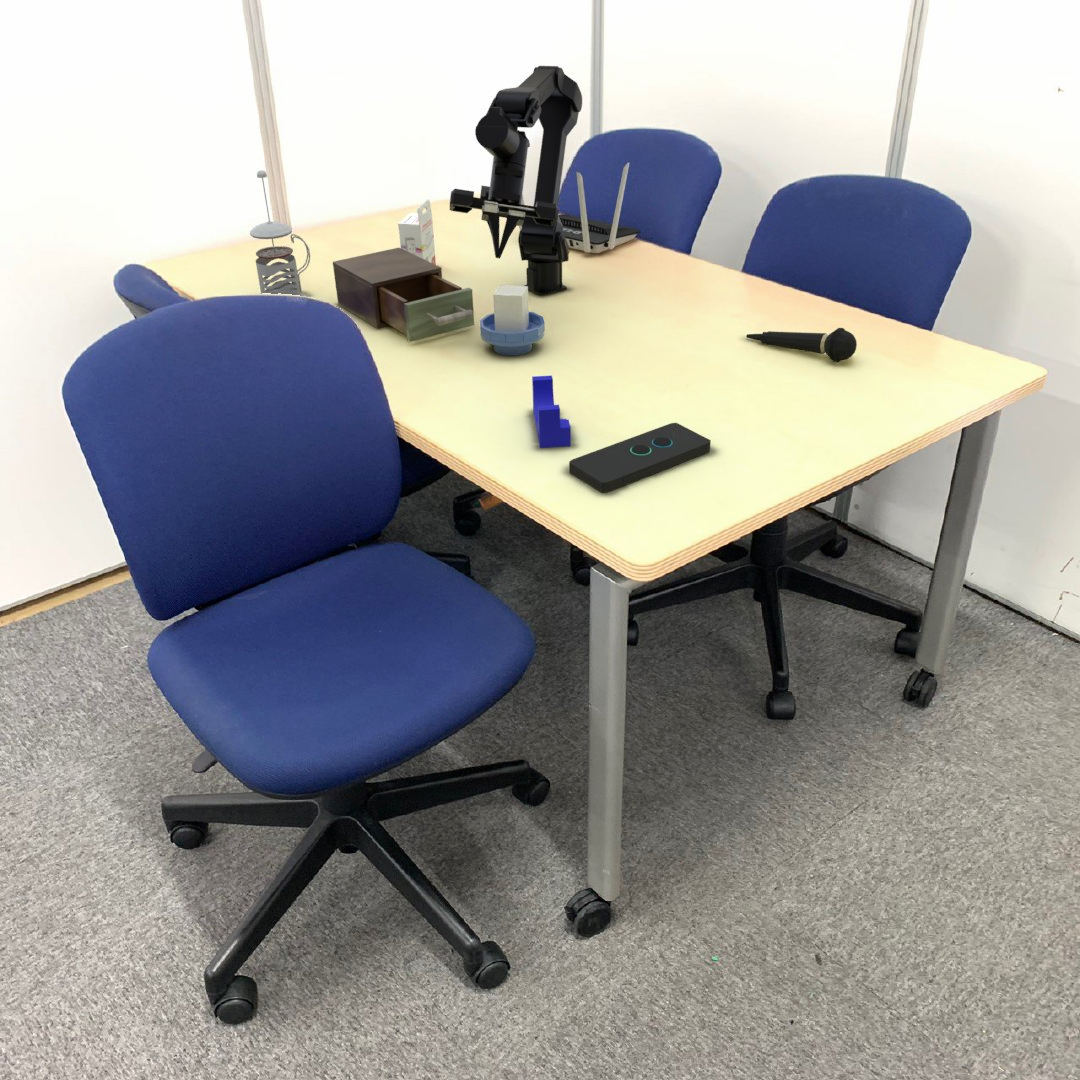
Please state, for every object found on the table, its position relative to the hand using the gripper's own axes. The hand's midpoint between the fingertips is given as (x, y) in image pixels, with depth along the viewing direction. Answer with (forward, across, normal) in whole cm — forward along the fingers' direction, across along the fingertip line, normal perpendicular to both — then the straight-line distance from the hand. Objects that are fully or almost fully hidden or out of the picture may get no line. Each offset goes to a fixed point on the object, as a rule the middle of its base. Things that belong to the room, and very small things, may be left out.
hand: (497, 257), depth 179 cm
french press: (+9, +40, -31) cm, 51 cm away
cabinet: (+9, +19, -22) cm, 31 cm away
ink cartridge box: (-1, +15, -41) cm, 43 cm away
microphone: (+10, -54, +8) cm, 55 cm away
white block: (+12, -4, +1) cm, 13 cm away
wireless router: (-14, -18, -55) cm, 60 cm away
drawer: (+12, +11, -10) cm, 19 cm away
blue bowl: (+15, -5, 0) cm, 16 cm away
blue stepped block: (+29, -10, +29) cm, 42 cm away
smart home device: (+32, -22, +40) cm, 55 cm away
